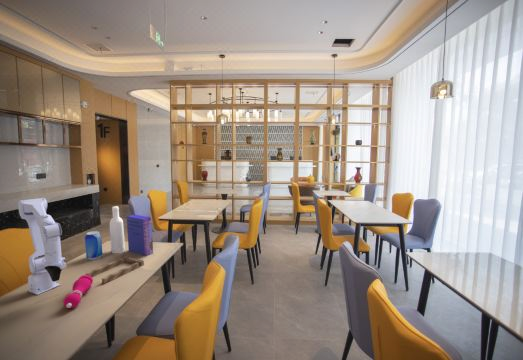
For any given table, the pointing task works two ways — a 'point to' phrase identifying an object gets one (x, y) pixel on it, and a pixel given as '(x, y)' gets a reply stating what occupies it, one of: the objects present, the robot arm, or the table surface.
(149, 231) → the cereal box
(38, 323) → the table surface
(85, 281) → the pepper mill
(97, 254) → the beer can
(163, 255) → the table surface
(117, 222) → the bottle
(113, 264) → the u rest
